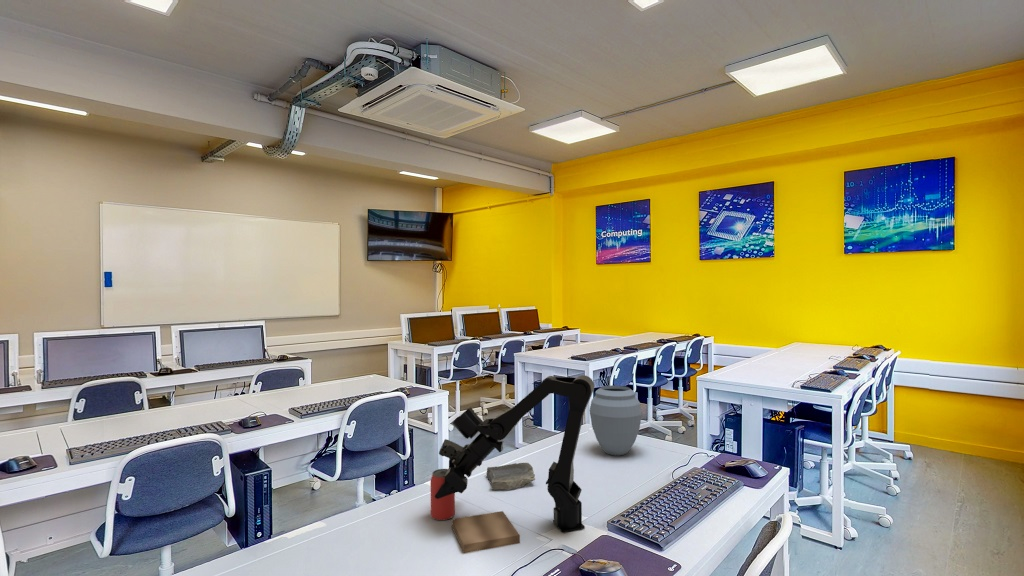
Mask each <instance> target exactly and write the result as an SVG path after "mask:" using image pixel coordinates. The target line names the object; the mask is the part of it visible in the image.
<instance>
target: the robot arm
mask: <svg viewBox="0 0 1024 576" xmlns="http://www.w3.org/2000/svg"><path fill="white" fill-rule="evenodd" d="M541 381H542V382H540V384H538V385H537V386H536V387H535V388H534V389H533V390H532V391H530V392H529V393H528V394H527V395H526V396H524V397H523V398H522V399H521V400H520V401H519V402H517V404H516V405H515V406H513V407H511V408H509V409H507V410H505V411H504V412H502V413H500V414H498V415H497V416H496V417H494V418H485V419H484V420H482V419H481V417H479V415H478V414H477V413H476V412H475V410H474V409H473V408H472V407H471V406H469V407H468V408H466V410H465V411H464V412H463V413H461V414H460V415H459V416H457V417H456V418H455V420H453V422H452V426H453V427H454V428H456V430H457V431H458V432H459V433H460V434H461V435H462V436H463V437H464V439H466V440H467V439H469V438H470V439H471V440H472V439H473V438H474V437H475V436H476V435H477V434H478V433H479V434H478V435H477V436H476V437H475V438H474V439H473V440H472V441H471V442H470V443H467V444H465V445H464V446H461V445H460V444H458V443H456V442H453V441H452V440H450V439H447V438H445V439H444V440H443V442H442V445H441V446H440V449H439V451H438V454H439V455H440V456H441V457H446V458H447V459H449V460H448V468H447V469H449V470H448V471H447V472H445V475H444V478H445V481H444V483H443V484H442V486H441V487H440V489H439V490H438V491H437V493H436V494H435V498H436V499H439V498H442V497H444V496H447V495H450V494H453V493H455V494H456V493H460V494H463V493H464V491H465V490H467V488H468V482H469V481H468V480H469V479H468V478H470V477H471V476H472V472H473V471H475V469H476V468H477V467H481V466H482V464H483V461H484V460H485V459H486V458H487V457H488V456H489V455H490V454H491V453H492V452H493V451H494V450H495V449H496V450H497V451H498V453H502V452H503V450H504V439H505V438H506V437H508V435H509V434H510V433H511V432H512V431H513V430H514V429H515V428H516V426H517V425H518V423H520V421H521V420H522V418H523V417H525V415H527V414H528V413H529V412H530V411H532V410H533V409H534V408H535V407H536V406H537V405H539V404H540V403H541V402H542V401H543V400H544V399H546V398H547V397H548V396H549V395H550V394H554V395H559V396H562V397H567V398H568V416H567V419H566V425H565V429H564V432H563V437H562V442H561V445H560V452H559V457H558V460H557V462H555V461H553V462H552V464H551V465H550V467H549V469H548V477H547V480H546V481H545V485H547V488H546V489H547V493H548V494H549V495H550V497H551V498H552V499H553V501H554V507H553V519H552V523H553V524H554V525H555V526H556V527H557V528H558V529H559V531H560V532H561V533H568V532H573V531H579V530H584V529H585V528H586V527H585V525H584V524H583V516H582V515H583V514H582V512H583V510H582V503H583V502H582V501H581V500H580V499H579V498H580V496H581V493H582V490H583V489H582V488H581V487H580V486H579V485H578V483H576V481H575V480H574V477H575V475H574V473H575V472H574V471H575V469H574V459H575V455H576V452H577V447H578V446H577V445H578V442H579V437H580V433H581V429H582V425H583V419H584V414H585V411H586V409H587V407H588V406H589V405H588V404H589V402H590V400H591V398H592V395H593V393H594V390H595V382H594V381H593V378H591V377H590V376H588V375H585V374H584V375H583V374H582V375H578V376H576V377H573V376H554V375H549V376H547V377H545V378H544V379H543V380H541ZM465 475H466V476H465Z"/></svg>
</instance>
